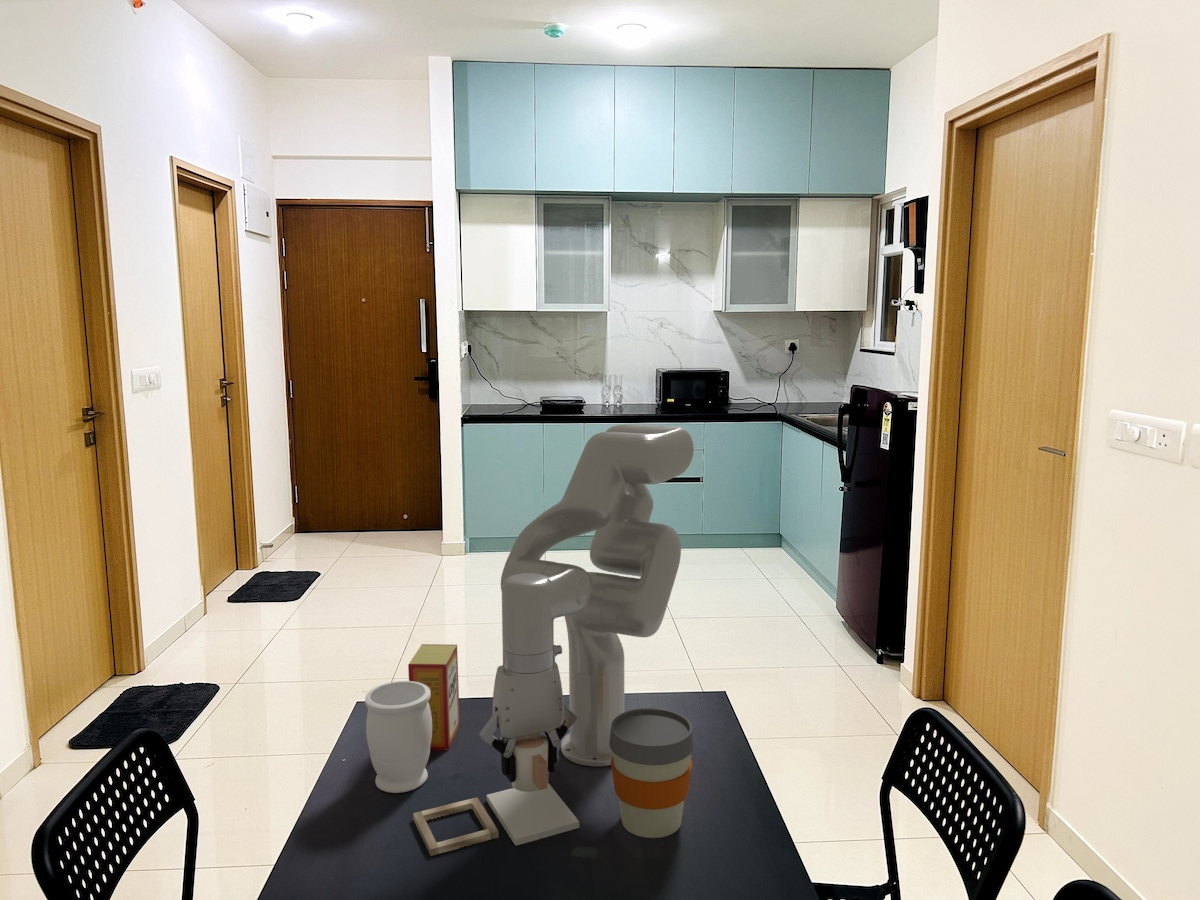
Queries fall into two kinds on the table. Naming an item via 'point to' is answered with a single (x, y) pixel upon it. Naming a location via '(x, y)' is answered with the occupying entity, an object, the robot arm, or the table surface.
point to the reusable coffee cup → (651, 769)
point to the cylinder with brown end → (531, 763)
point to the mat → (531, 814)
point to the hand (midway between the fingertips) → (529, 772)
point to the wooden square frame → (459, 841)
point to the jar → (399, 734)
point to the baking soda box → (439, 689)
